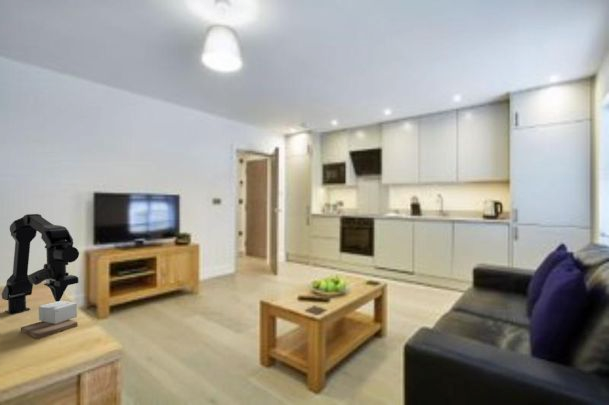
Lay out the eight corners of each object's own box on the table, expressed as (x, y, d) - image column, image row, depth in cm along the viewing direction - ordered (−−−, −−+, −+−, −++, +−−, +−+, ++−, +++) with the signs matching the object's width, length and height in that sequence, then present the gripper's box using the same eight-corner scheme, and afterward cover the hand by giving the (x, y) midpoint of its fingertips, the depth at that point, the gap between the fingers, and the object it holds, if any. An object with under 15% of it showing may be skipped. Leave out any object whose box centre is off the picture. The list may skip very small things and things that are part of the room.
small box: (38, 320, 124) (54, 324, 119) (37, 306, 124) (54, 309, 119) (61, 313, 131) (77, 317, 127) (61, 299, 131) (77, 303, 126)
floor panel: (20, 331, 117) (20, 327, 117) (58, 320, 128) (58, 316, 128) (39, 338, 111) (39, 334, 111) (77, 326, 121) (77, 322, 121)
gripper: (18, 262, 120) (19, 304, 120) (43, 266, 111) (44, 311, 112) (53, 257, 130) (54, 295, 130) (78, 260, 121) (79, 302, 121)
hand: (57, 301), depth 123 cm, fingers closed
